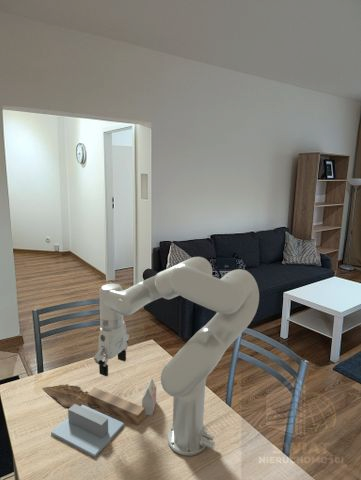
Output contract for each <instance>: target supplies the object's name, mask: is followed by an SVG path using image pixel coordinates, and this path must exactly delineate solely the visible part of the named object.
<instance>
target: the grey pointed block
mask: <svg viewBox="0 0 361 480" xmlns="http://www.w3.org/2000/svg"><path fill="white" fill-rule="evenodd" d="M156 405H157V386H156V384H155V382H154V379H153V377H150V380H149V382H148V383H147V385H146V388H145V390H144V394H143V397H142V399H141V407H144V408H145V416H153V415H154V411H155V409H156Z"/></svg>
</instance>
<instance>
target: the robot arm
mask: <svg viewBox="0 0 361 480" xmlns="http://www.w3.org/2000/svg"><path fill="white" fill-rule="evenodd" d="M98 291H99V315H100V317H99V318H100V324H99V326H100V328H99V335H98V350H97V352H96V353H95V355H94V356H93V360H94V361H95V363H96V364H97V365H98V366H99V367H98V370H99V375H101V376H104V377H108V376H109V364H108V362H109V360H111V359H113V358H115V357H116V356H117V360H119V361H122V362H123V363H124V362H126V361H127V350H128V344H129V337H130V334H128V332H127V326H126V322H125V321H124V317H125V316H130V315H132V314H134V313H136V312H138V311H139V309H140V310H141V309H142V308H143V307H144V306H146V305H148V304H150V303H153V302H154V301H157V300H158V299H161V298H162V299H165V300H171V299H174V298H176V297H179V296H180V297H182V298H184V299H187V300H188V301H191V302H192V303H195V304H196V305H199V306H200V307H201V306H202V307H204V308H206V309H208V310H211V311H214V312H215V314H214V316H213V317H212V318H211V319H210V320H209V321H207V323H205V325H204V326H202V327H201V328H200V329H199V330H198V331H196V332H195V334H194V335H193V336H192V337H190V338H189V340H188V341H187V342H186V343H185V344H184V345H183V346H182V347H181V348H180V349H179V350H178V351H177V353H175V355H173V357H172V358H171V359H170V360H169V361H168V362H167V364H166V365H164V366H163V369H162V371H161V374H160V383H161V386H162V389H163V390H164V392H165V393H166V394H168V395H169V396H172V397H173V401H172V402H173V403H172V404H173V408H172V409H173V410H172V426H171V427H170V428H169V430H168V432H167V443H168V445H169V447H170V448H171V450H172V451H173V452H175V453H177V454H179V455H182V456H187V457H189V456H195V455H198V454H200V453H202V452H203V451H204V450H205V448H206V447H207V448H208V449H211V450H214V449H215V445H216V443H215V441H214V439H215V438H214V437H215V435H212V434H209V433H208V432H207V427H206V426H205V425H204V417H205V398H206V397H205V395H206V384H207V378H208V376H209V375H210V374H211V373H212V372H213V370H215V368H216V367H217V365H218V363H220V360H221V359H222V357H223V356H224V355H225V352H226V351H227V350H228V348H229V347H230V346H231V345H232V344H233V343H234V342H235V341H236V340H237V338H238V339H239V337H240V336H241V335H242V333H243V332H244V331H245V330H246V329H247V328H248V326H249V325H250V324H251V322H252V321H253V320H254V317H255V316H256V314H257V310H258V307H259V303H260V290H259V287H258V282H257V281H256V279H255V277H254V276H253V275H252V273H250V272H249V271H248V270H246V269H241V268H238V269H234V270H230V271H228V272H227V273H225V274H224V275H223V276H222V277H221V278H218V277H215V276H213V268H212V264H211V263H210V262H209V260H208V259H206V258H205V257H202V256H193V257H190V258H188V259H186V260H183V261H181V262H179V263H177V264H175V265H173V266H170V267H168V268H166V269H163V270H161V271H159V272H158V273H156V274H155V275H154V276H150V277H149V278H146V279H144V280H143V281H140V282H138V283H135V284H134V285H132V286H130V287H128V288H126V289H123V287H122V285H120V284H118V283H106V284H104V285H102V286H100V287H99V290H98ZM103 359H104V360H103Z"/></svg>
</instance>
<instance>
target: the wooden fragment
mask: <svg viewBox="0 0 361 480" xmlns="http://www.w3.org/2000/svg"><path fill="white" fill-rule="evenodd" d="M41 389H42V390H43V392H45V393H47V395H49V396H50V397H51V398H52V399H54V400H56V401H57V402H58V403H59V404H61V406H63V407H64V408H66V409H67V408H70V407H71V406H73V405H74V404H76V405H79V406H82V405H85V406H87V407H89V408H91V409H93V408H97V409H99V408H98V407H97V406H95V405H93V404H90V403H87V393H89V392H90V391H84V390H82V389H81V387H80V386H78V385H69V384H68V383H66V384H59V385H53V386H45V387H41Z"/></svg>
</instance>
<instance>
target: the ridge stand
mask: <svg viewBox="0 0 361 480" xmlns="http://www.w3.org/2000/svg"><path fill="white" fill-rule="evenodd" d="M67 414H68V415H67V418H65V419H64V420H63V421H62V422H61V423H59V424H58V425H57V426H56V427H55V428H53V429H52V430H51V431H50V434H51V436H53V437H56V438H57V439H59V440H60V441H63V442H65V443H66V444H69V445H70V446H72V447H74V448H76V449H77V450H80V451H82V452H84V453H85V454H88V455H89V456H91V457H93V458H96V457H97V456H98V455H99V454H100V453H101V451H102V450H104V448H105V447H106V446H107V445H108V444H109V443H110V442H111V441H112V439H113V438H114V437H115V436H116V435H117V434H118V433H119V432H120V431H121V430H122V429H123V427H124V426H125V423H124V422H122V421H120V420H118V419H115V418H114V417H111V416H109V415H107V414H105V413H102V412H100V411H98V410H96V409H94V408H89V407H87V406H85V405H82V406H79V405H76V404H74V405H73V406H71V407H68V409H67Z"/></svg>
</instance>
